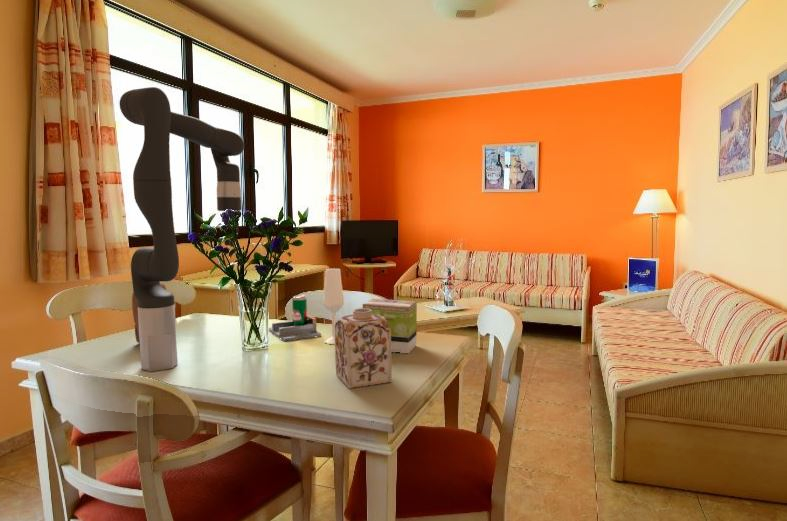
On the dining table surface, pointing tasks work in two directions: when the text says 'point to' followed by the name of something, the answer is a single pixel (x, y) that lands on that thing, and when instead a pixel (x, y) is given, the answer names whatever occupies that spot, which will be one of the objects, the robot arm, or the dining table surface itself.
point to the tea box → (398, 321)
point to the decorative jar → (363, 349)
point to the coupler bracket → (295, 329)
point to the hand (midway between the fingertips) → (230, 246)
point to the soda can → (299, 310)
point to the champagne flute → (333, 296)
